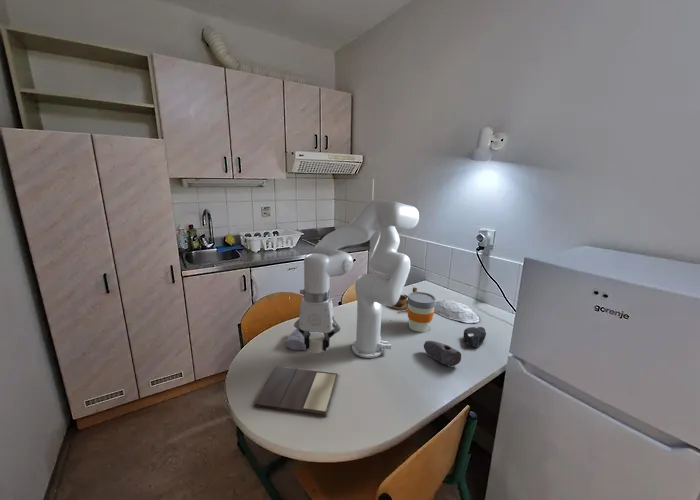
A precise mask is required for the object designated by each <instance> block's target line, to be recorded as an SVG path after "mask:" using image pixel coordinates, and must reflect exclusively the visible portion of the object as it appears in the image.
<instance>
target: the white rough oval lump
mask: <svg viewBox="0 0 700 500" xmlns="http://www.w3.org/2000/svg"><path fill="white" fill-rule="evenodd" d="M434 313H435V314H438V315H440V316H442V317H443V318H446V319H450V320H455V321H459V322H461V323H467V324H477V323H478V322H479V321H480V317H479V316H478V315H477V314H476V313H475V312H474V310H473V309H472V308H471V307H470V306H468V305H467V304H464V303H462V302H458V301H455V300H452V299H439V300H437V301H436V305H435V307H434Z"/></svg>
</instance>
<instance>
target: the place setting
mask: <svg viewBox="0 0 700 500" xmlns="http://www.w3.org/2000/svg"><path fill="white" fill-rule="evenodd" d="M413 292H418V288H417V287H412V293H413ZM407 300H408V296H405V295H403V294H401V296H400V298H399V300H398V302H397V303H396V304H395V305H394V306H390V307H391V308H392V309H395V310H399V311H398V312H397V314H399V313H404V312H408V310H407V306H408V302H407Z"/></svg>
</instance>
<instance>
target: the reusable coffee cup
mask: <svg viewBox="0 0 700 500" xmlns="http://www.w3.org/2000/svg"><path fill="white" fill-rule="evenodd" d="M407 302H408V306H407V309H406V310H408V311H407V319H408V327H409V329H410V330H412V331H414V332H417V333H426V332H428V331H429V330H430V325H431V322H432V321H433V317H434V313H435V312H434V307H435V305H436V297H435V296H434V295H433V294H431V293H428V292H423V291H417V292H413V291H412V292H409V294H408V296H407Z"/></svg>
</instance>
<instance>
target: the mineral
mask: <svg viewBox="0 0 700 500" xmlns="http://www.w3.org/2000/svg"><path fill="white" fill-rule="evenodd" d="M486 337H487V332H486V329H485V328H484V327H483V326H477V327H475V326H469V327H466V328H465V329H464V330H463V341H464V342H465V343H466V345H468V346H469V347H475V348H479V347H480V346H481V345H482V344H483V342H484V340H485V339H486Z"/></svg>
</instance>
